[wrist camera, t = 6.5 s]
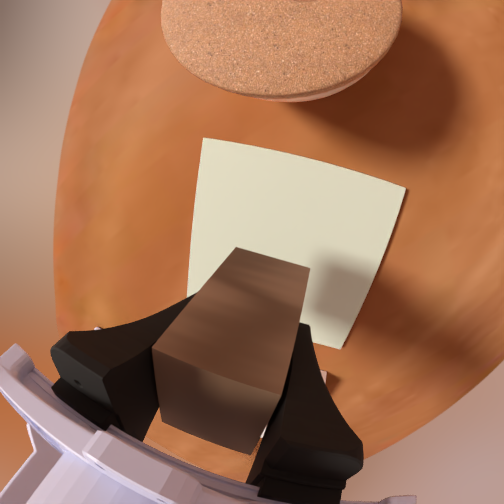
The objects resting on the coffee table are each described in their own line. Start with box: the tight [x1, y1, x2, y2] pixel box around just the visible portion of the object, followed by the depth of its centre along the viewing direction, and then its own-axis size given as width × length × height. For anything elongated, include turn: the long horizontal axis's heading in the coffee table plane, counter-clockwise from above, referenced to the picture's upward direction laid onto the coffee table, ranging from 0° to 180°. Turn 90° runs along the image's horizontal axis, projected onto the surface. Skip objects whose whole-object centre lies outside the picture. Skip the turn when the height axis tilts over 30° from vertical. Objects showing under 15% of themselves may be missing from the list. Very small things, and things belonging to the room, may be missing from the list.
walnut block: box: [152, 247, 310, 455], centre depth 12 cm, size 4×5×8 cm
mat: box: [187, 138, 406, 349], centre depth 20 cm, size 14×14×1 cm
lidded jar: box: [161, 0, 402, 102], centre depth 10 cm, size 11×11×9 cm
